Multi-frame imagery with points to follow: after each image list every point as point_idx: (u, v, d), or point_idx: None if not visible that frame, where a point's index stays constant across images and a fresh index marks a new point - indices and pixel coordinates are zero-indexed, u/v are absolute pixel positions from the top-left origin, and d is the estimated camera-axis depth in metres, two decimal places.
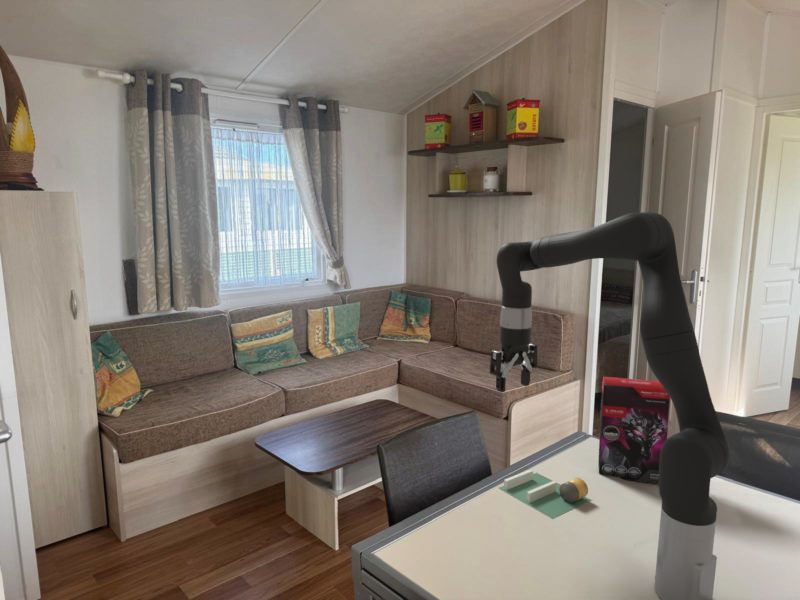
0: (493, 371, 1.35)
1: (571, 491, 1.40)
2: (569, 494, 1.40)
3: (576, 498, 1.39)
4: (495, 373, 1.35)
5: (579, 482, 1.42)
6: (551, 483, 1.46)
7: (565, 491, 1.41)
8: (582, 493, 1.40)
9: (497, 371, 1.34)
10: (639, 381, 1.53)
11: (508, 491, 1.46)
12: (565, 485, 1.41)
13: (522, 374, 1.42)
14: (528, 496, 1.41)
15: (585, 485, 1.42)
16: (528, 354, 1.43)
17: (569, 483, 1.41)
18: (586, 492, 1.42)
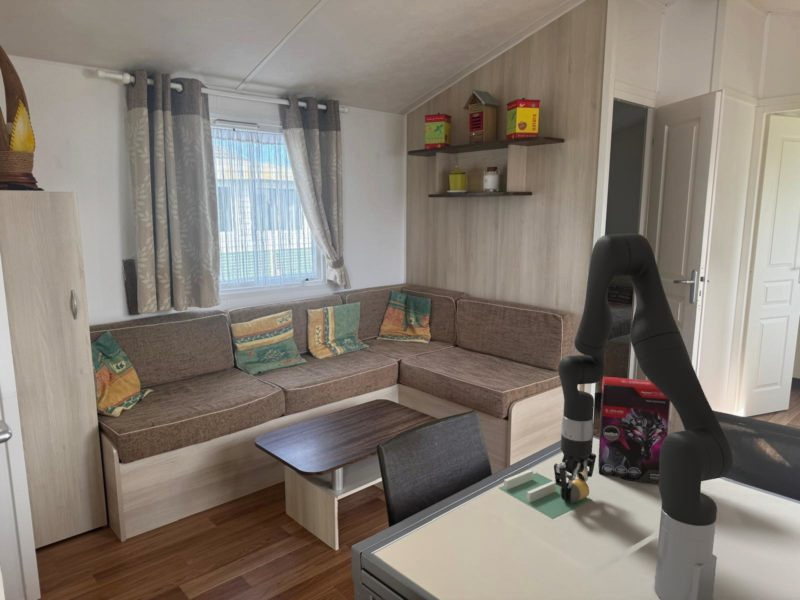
0: (559, 482, 1.39)
1: (573, 493, 1.39)
2: None
3: (577, 500, 1.39)
4: (562, 486, 1.38)
5: (581, 484, 1.41)
6: (551, 483, 1.46)
7: None
8: (583, 495, 1.40)
9: (564, 483, 1.38)
10: (639, 381, 1.53)
11: (508, 491, 1.46)
12: None
13: None
14: (528, 496, 1.41)
15: (587, 487, 1.41)
16: None
17: None
18: (587, 494, 1.41)
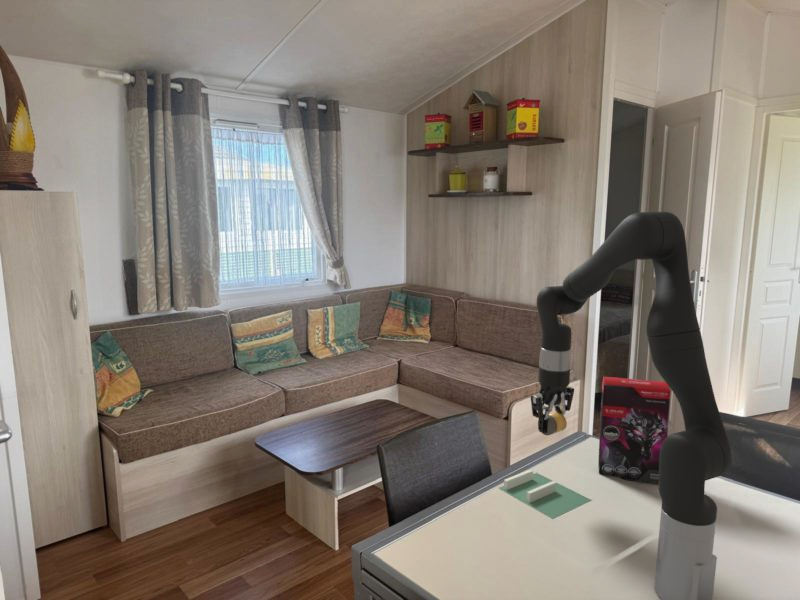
0: (536, 414, 1.39)
1: (549, 424, 1.40)
2: (547, 427, 1.40)
3: (553, 431, 1.40)
4: (538, 416, 1.38)
5: (558, 416, 1.41)
6: (551, 483, 1.46)
7: None
8: (560, 427, 1.41)
9: (540, 414, 1.38)
10: (639, 381, 1.53)
11: (508, 491, 1.46)
12: None
13: None
14: (528, 496, 1.41)
15: (564, 420, 1.42)
16: (563, 396, 1.45)
17: (548, 416, 1.41)
18: (564, 426, 1.42)
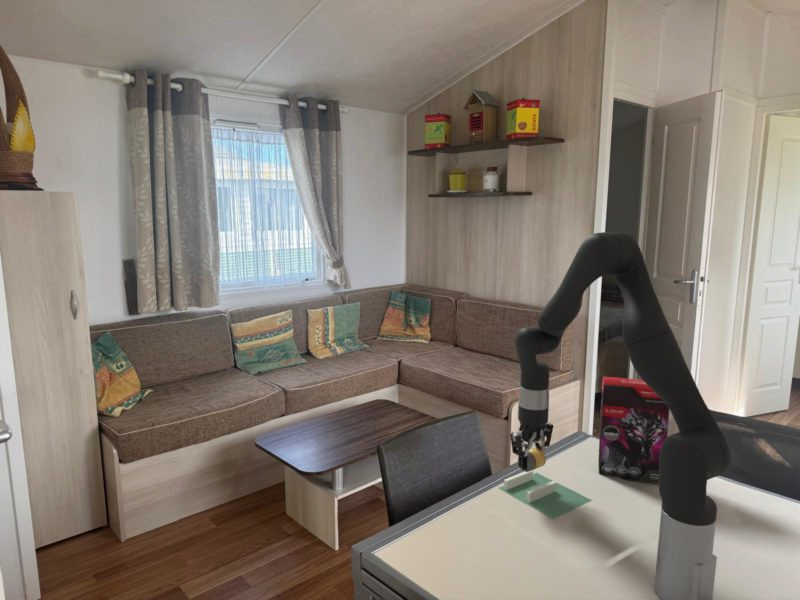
0: (516, 451, 1.42)
1: (529, 461, 1.43)
2: (527, 463, 1.43)
3: (533, 468, 1.43)
4: (518, 454, 1.41)
5: (537, 453, 1.45)
6: (551, 483, 1.46)
7: None
8: (539, 463, 1.44)
9: (520, 451, 1.41)
10: (639, 381, 1.53)
11: (508, 491, 1.46)
12: None
13: None
14: (528, 496, 1.41)
15: (543, 456, 1.45)
16: None
17: (528, 453, 1.44)
18: (543, 462, 1.45)
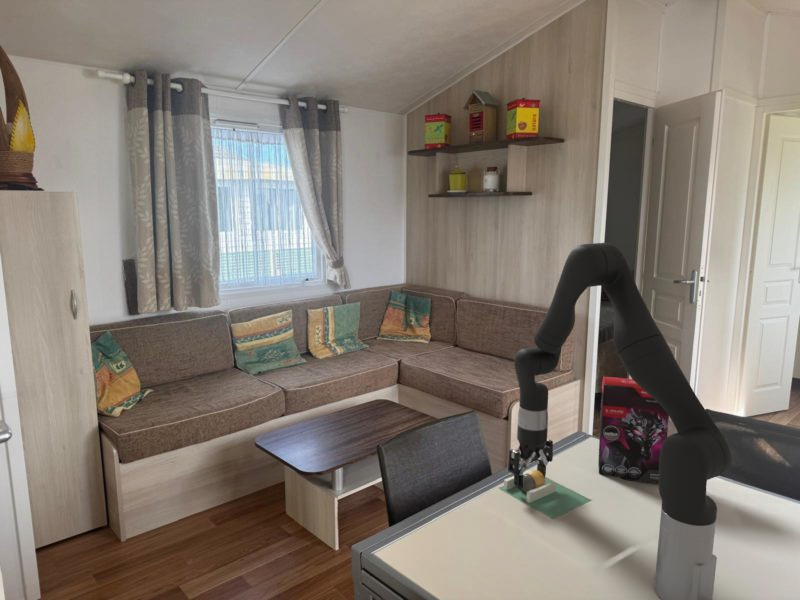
0: (511, 469, 1.42)
1: (529, 484, 1.44)
2: (526, 486, 1.44)
3: None
4: (513, 472, 1.41)
5: (537, 475, 1.45)
6: (551, 483, 1.46)
7: (523, 482, 1.45)
8: (539, 486, 1.45)
9: (515, 470, 1.41)
10: None
11: (508, 491, 1.46)
12: (524, 477, 1.45)
13: (538, 468, 1.49)
14: (528, 496, 1.41)
15: (543, 479, 1.46)
16: (544, 448, 1.49)
17: (528, 476, 1.45)
18: None
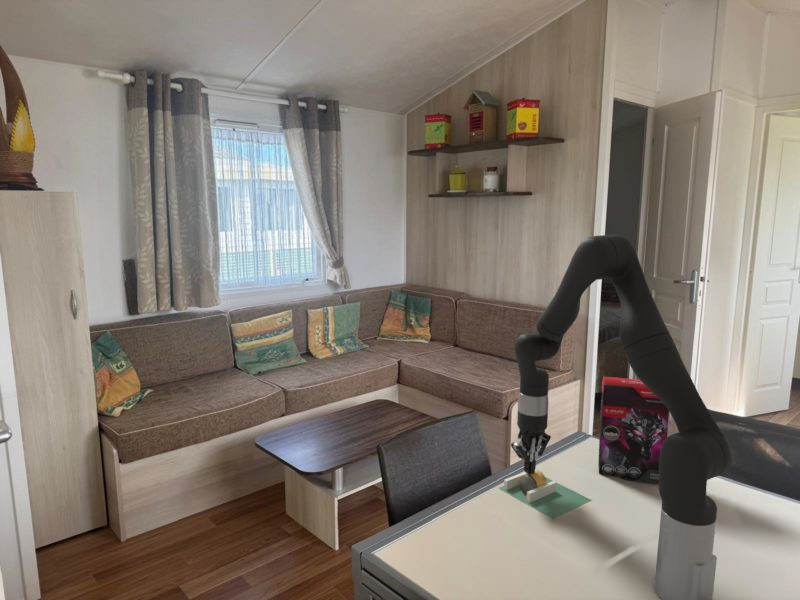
0: (522, 455, 1.44)
1: (530, 486, 1.43)
2: (527, 487, 1.44)
3: None
4: (524, 459, 1.43)
5: (539, 477, 1.45)
6: (551, 483, 1.46)
7: (524, 483, 1.45)
8: None
9: (526, 456, 1.43)
10: (639, 381, 1.53)
11: (508, 491, 1.46)
12: (526, 478, 1.44)
13: None
14: (528, 496, 1.41)
15: (545, 481, 1.45)
16: None
17: (530, 477, 1.44)
18: None
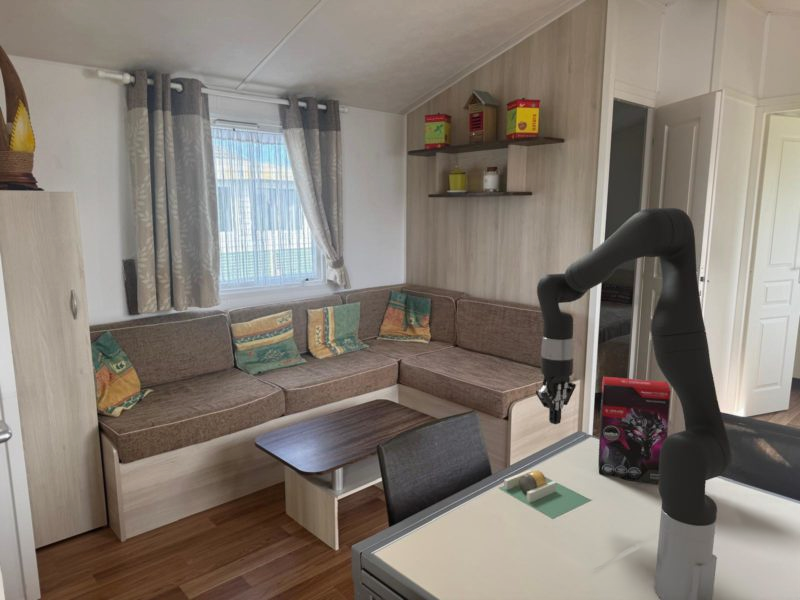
0: (547, 404, 1.38)
1: (530, 485, 1.43)
2: (527, 487, 1.44)
3: None
4: (549, 407, 1.37)
5: (539, 477, 1.45)
6: (551, 483, 1.46)
7: (524, 483, 1.45)
8: None
9: (551, 404, 1.37)
10: (639, 381, 1.53)
11: (508, 491, 1.46)
12: (526, 478, 1.44)
13: None
14: (528, 496, 1.41)
15: (544, 480, 1.45)
16: None
17: (530, 477, 1.44)
18: None
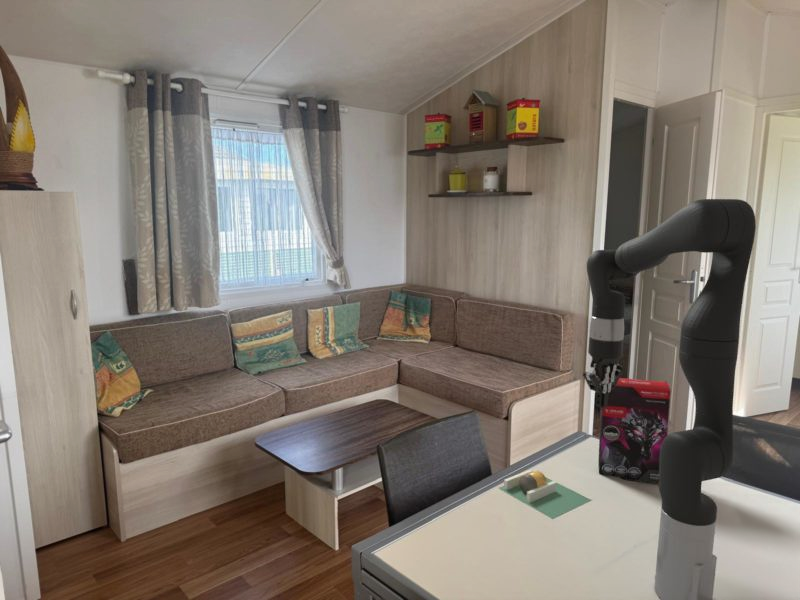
0: (594, 387, 1.31)
1: (530, 486, 1.43)
2: (528, 487, 1.44)
3: None
4: (597, 391, 1.31)
5: (540, 478, 1.45)
6: (551, 483, 1.46)
7: (525, 483, 1.45)
8: None
9: (599, 387, 1.30)
10: (639, 381, 1.53)
11: (508, 491, 1.46)
12: (526, 478, 1.44)
13: None
14: (528, 496, 1.41)
15: (545, 481, 1.45)
16: None
17: (531, 478, 1.44)
18: None
